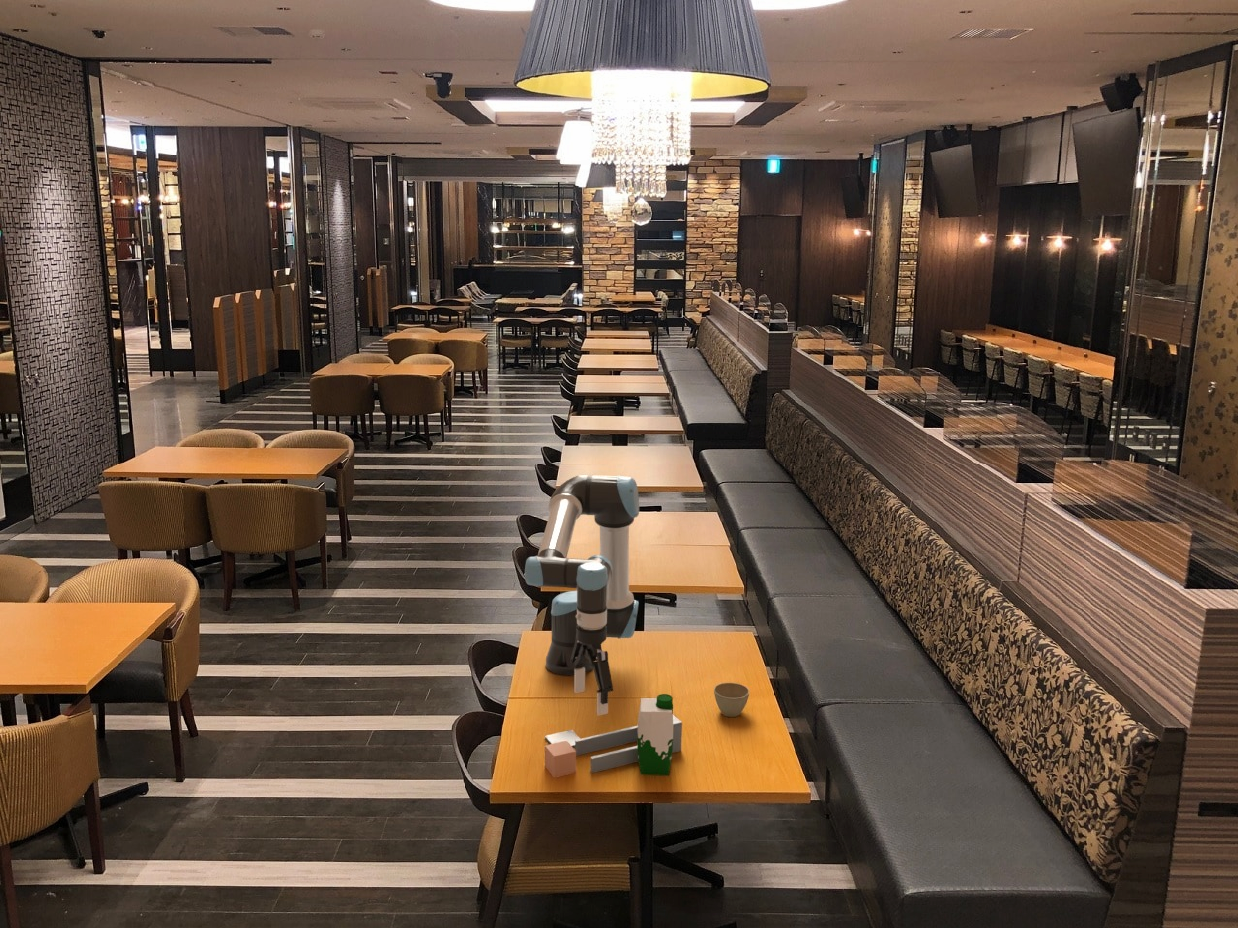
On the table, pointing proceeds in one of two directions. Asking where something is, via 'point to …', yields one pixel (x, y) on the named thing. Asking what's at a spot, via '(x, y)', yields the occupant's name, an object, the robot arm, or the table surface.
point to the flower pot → (731, 698)
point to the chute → (618, 739)
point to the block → (560, 759)
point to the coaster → (563, 737)
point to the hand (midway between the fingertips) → (590, 702)
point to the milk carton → (655, 735)
